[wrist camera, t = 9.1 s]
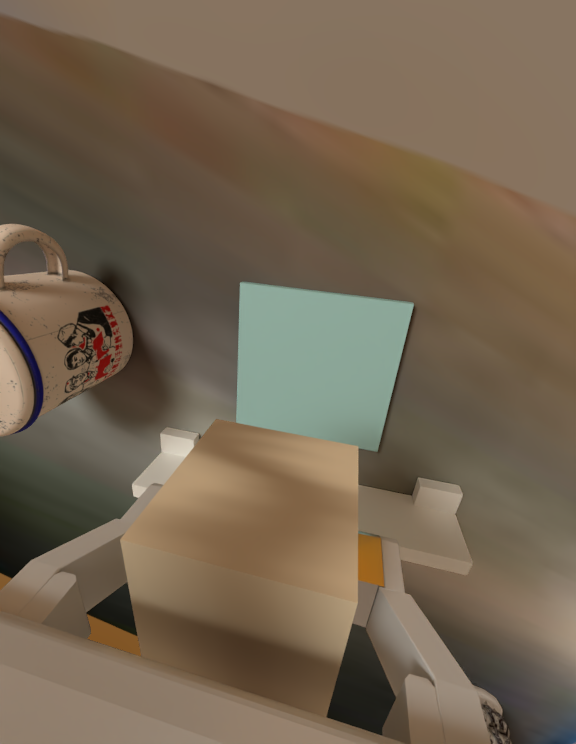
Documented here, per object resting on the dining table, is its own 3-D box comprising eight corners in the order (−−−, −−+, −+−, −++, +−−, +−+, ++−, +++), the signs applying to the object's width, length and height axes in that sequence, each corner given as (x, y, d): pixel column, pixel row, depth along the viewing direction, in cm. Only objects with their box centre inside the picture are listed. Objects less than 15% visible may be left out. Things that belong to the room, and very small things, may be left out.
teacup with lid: (131, 394, 27) (-15, 494, 16) (36, 354, 27) (-167, 426, 17) (151, 252, 22) (-42, 264, 11) (33, 205, 22) (-260, 174, 12)
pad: (238, 420, 26) (236, 424, 25) (243, 281, 21) (240, 282, 21) (376, 447, 24) (377, 451, 24) (412, 302, 20) (414, 304, 19)
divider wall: (170, 472, 29) (136, 514, 25) (166, 426, 27) (129, 464, 23) (440, 532, 26) (458, 594, 21) (459, 485, 24) (483, 542, 19)
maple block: (216, 520, 13) (143, 666, 9) (216, 419, 11) (119, 539, 7) (336, 549, 12) (323, 726, 8) (358, 446, 10) (357, 603, 6)
